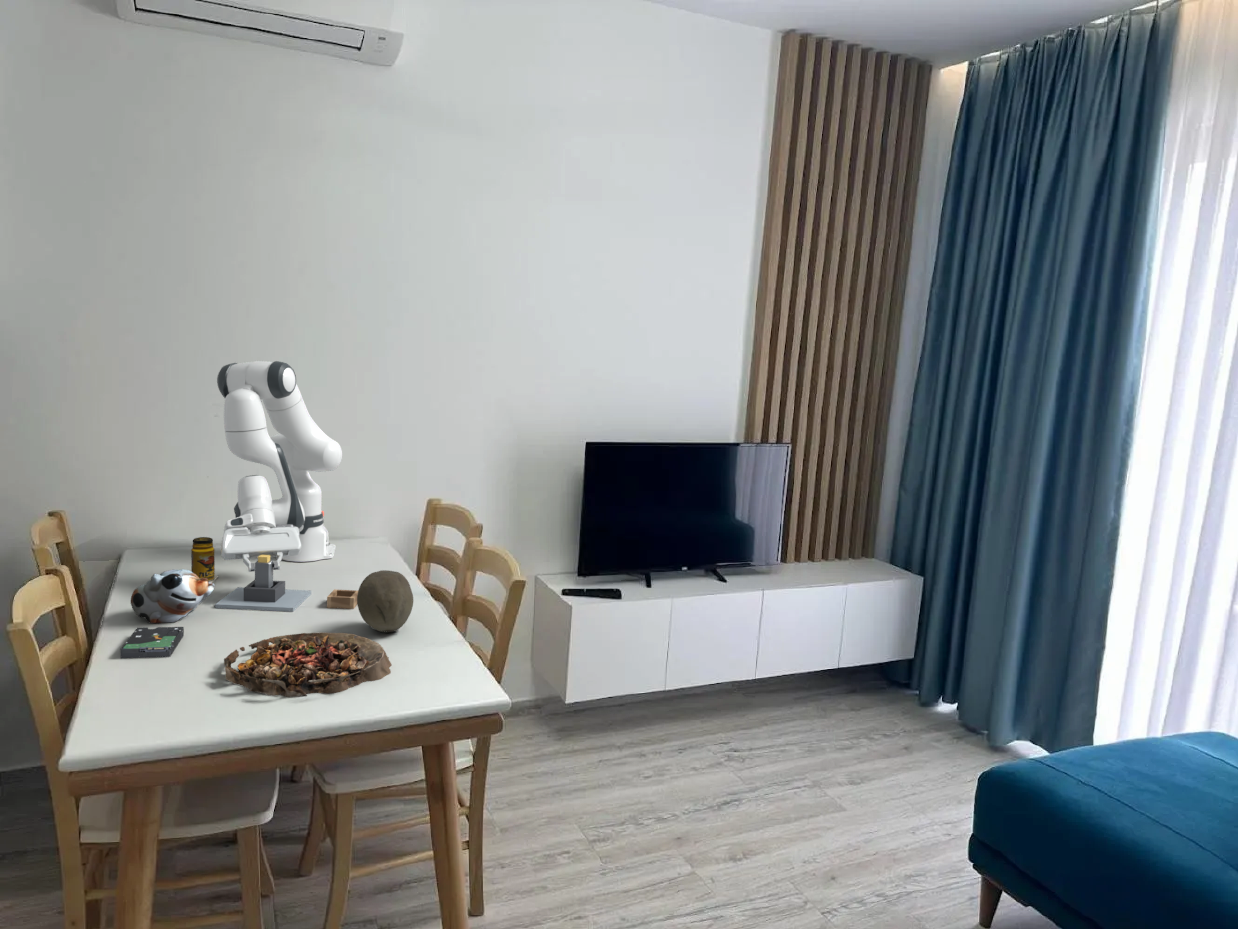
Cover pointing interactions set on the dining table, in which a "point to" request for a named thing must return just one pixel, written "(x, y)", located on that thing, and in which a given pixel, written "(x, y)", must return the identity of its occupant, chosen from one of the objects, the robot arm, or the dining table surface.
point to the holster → (342, 599)
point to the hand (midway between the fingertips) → (264, 569)
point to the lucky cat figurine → (170, 596)
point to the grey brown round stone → (385, 600)
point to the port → (264, 598)
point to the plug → (264, 572)
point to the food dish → (309, 664)
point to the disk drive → (152, 642)
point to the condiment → (203, 558)
